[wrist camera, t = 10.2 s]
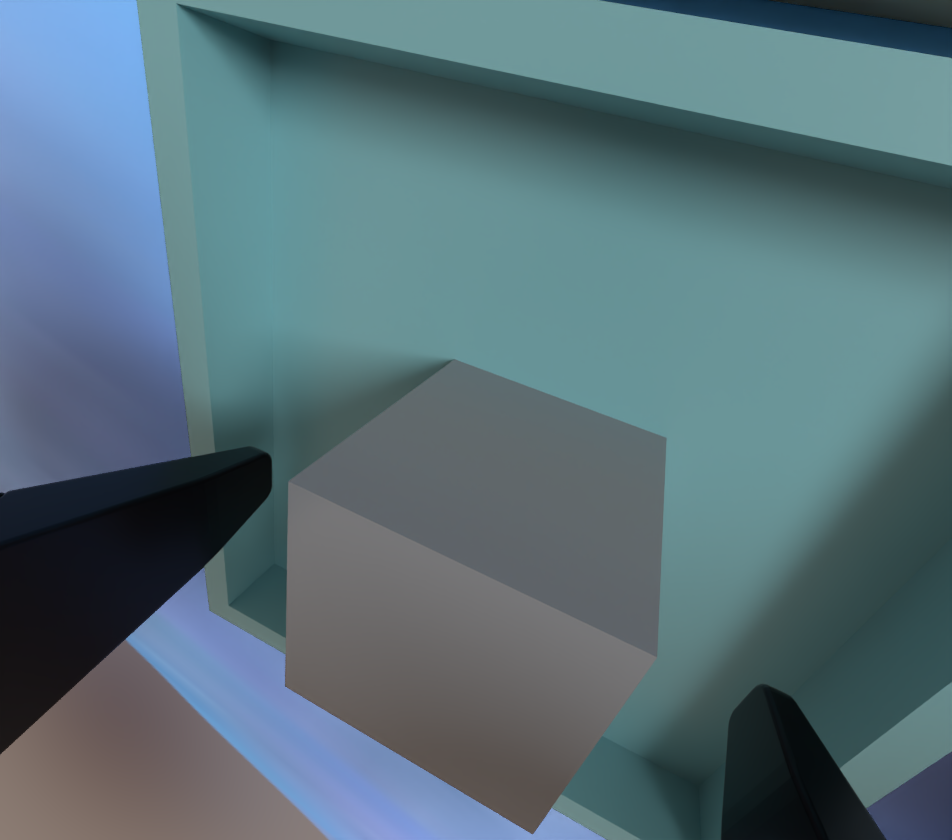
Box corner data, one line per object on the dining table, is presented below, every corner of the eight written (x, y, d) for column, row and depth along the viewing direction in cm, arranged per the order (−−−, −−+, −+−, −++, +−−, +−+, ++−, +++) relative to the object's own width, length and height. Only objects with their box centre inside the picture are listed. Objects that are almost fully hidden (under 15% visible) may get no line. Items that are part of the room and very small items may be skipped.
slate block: (666, 437, 9) (657, 657, 5) (587, 592, 11) (532, 834, 7) (454, 359, 10) (288, 481, 6) (421, 515, 12) (285, 686, 8)
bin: (1348, 195, 5) (1786, 194, 3) (713, 792, 13) (721, 905, 11) (258, -12, 9) (127, -77, 7) (268, 558, 17) (209, 610, 14)
